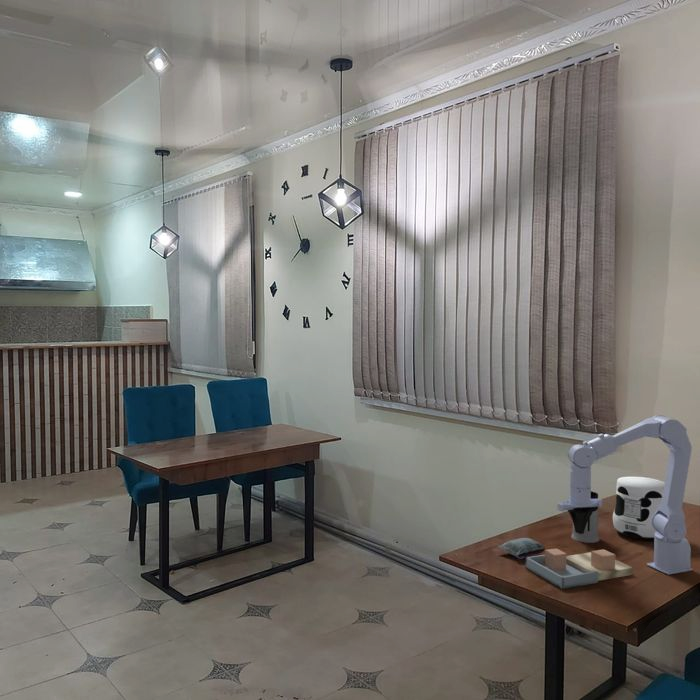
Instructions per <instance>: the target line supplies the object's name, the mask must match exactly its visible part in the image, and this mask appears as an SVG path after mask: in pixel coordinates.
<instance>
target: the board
mask: <svg viewBox="0 0 700 700" xmlns="http://www.w3.org/2000/svg"><path fill="white" fill-rule="evenodd" d="M566 564H567V565H569V566H571V567H573V568H575V569H577V570H579V571H581V572H583V573H588V572H594V571H597V572H598V582H599V581H605V580H609V579H616V578H620V577H627V576H632V575H634V573H633V572H634V568H633V566H631V565H629V564H625V563H624V562H622V561H619V560H618V559H615V569H610V570H604V571H602V570H600V569H598V568H596V567H594V566H592V565H591V551H589V552H584V553H579V554H578V553H576V554H572V555H566Z"/></svg>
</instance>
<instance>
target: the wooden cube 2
mask: <svg viewBox="0 0 700 700" xmlns="http://www.w3.org/2000/svg"><path fill="white" fill-rule="evenodd" d="M590 552H591V565H592V566H594V567H596V568H598V569H600V570H602V571H604V570H610V569H615V560H616V554H615V553H613V552H610V551H608V550H606V549H604V548H603V549H598V550H592V551H590Z"/></svg>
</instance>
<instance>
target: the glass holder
mask: <svg viewBox="0 0 700 700" xmlns="http://www.w3.org/2000/svg"><path fill="white" fill-rule="evenodd" d="M591 499H599V494H598V492H595V491H592V490H591ZM589 509H591V510H593V513H592V515H591V516H590V518H589V519H588V522H587V524H586V527H585V531H584V534H579V533H576V532H575V527H574V524H573V523H572V533H571V535H570V536H571V537H570V538H571V539H573V540H574V541H577V542H580V543H581V542H582V543H587V544H588V543H589V544H590V543H591V544H592V543H597V542H600V537H599V507H598V506H596V507H589Z"/></svg>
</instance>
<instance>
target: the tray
mask: <svg viewBox="0 0 700 700" xmlns="http://www.w3.org/2000/svg"><path fill="white" fill-rule="evenodd" d="M525 569H527V570H529V571H531V572H532V573H534V574H536V575H537V576H538V577H541V578H542V579H544V580H546V581H548V582H549V583H551V584H553V585H555V586H557V587H558V588H560V589H561V590H564V589H569V588H575V587H581V586H587V585H592V584H598V583H599V581H598V572H597V571H594V572H588V573H583V572H581V571H579V570H577V569H575V568H573V567H571V566H569V565H567V564H566V569H564V570H556V571H554V570H552V569H551V568H549V567H547V566H546V565H545V554H538V555H534V556H530V557H525Z"/></svg>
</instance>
